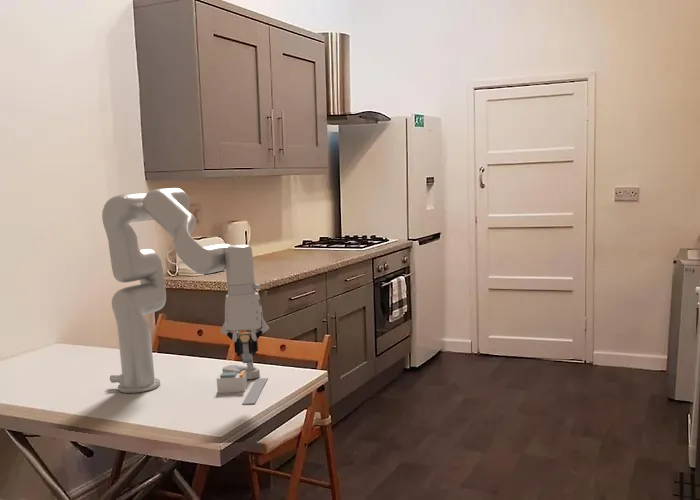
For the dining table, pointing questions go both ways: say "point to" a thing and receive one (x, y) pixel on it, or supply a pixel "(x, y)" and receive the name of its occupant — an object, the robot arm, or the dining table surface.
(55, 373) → the dining table surface
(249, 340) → the knob
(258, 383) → the strip
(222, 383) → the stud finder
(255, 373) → the electronic device
